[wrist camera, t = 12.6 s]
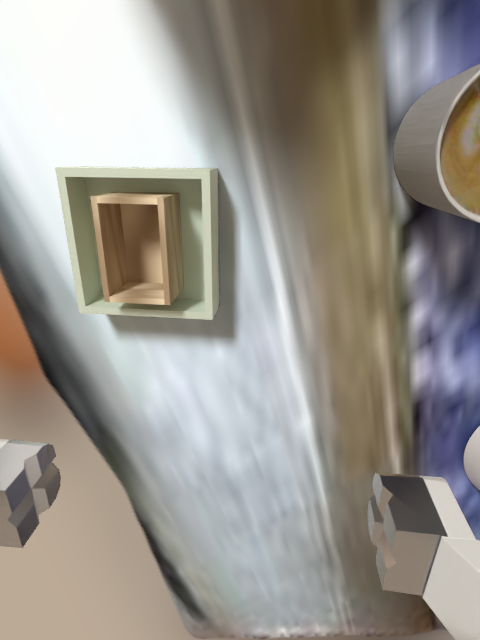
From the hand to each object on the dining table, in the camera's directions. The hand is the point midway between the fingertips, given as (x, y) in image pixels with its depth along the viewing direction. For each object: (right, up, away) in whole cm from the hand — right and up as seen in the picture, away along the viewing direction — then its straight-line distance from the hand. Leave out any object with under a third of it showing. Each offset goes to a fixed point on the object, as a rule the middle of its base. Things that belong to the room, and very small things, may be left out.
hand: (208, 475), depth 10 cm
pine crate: (-8, +11, +27) cm, 30 cm away
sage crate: (-8, +12, +28) cm, 31 cm away
